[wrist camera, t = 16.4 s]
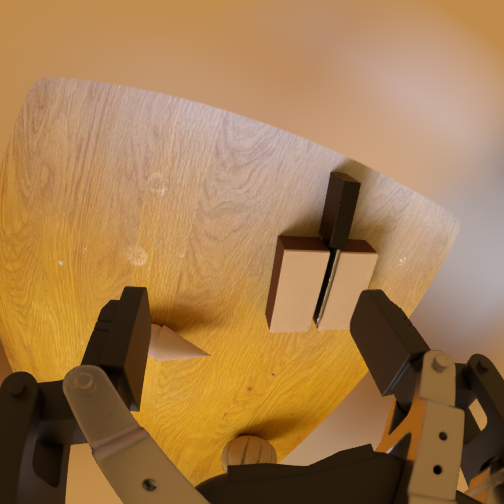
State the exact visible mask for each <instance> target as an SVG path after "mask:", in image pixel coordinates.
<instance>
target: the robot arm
mask: <svg viewBox="0 0 504 504" xmlns="http://www.w3.org/2000/svg"><path fill="white" fill-rule="evenodd" d="M407 318H408V317H407V316H406V315H405V313H404V312H403V311H402V309H401V308H400V307H398V306H397V305H396V304H394V303H393V302H392V301H390V300H389V298H388V297H387V296H386V294H385V293H384V292H383V291H382V290H380V289H376V290H363V291H362V292H361V293H360V296H359V298H358V301H357V304H356V307H355V309H354V312H353V315H352V317H351V320H350V333H351V335H352V337H353V339H354V341H355V343H356V345H357V347H358V349H359V351H360V353H361V355H362V357H363V359H364V361H365V363H366V365H367V367H368V369H369V371H370V372H371V374H372V377H373V379H374V380H375V383H376V385H377V387H378V389H379V391H380V393H381V395H382V397H383V396H388V395H392V394H394V396H395V399H394V400H393V402H392V405H391V409H390V412H389V417H388V420H387V423H386V427H385V430H384V434H383V437H382V440H381V442H380V444H379V446H378V447H377V448H376V450H375V451H373V448H372V445H371V444H367V445H363V446H359V447H355V448H351V449H347V450H343V451H339V452H337V453H335V454H333V455H332V456H329V457H327V458H325V459H323V460H320V461H318V462H316V463H314V464H311V465H309V466H293V465H282V464H273V463H258V464H244V465H227V473H225V474H221V475H217V476H215V477H212V478H210V479H208V480H206V481H204V482H202V483H200V484H199V485H197V486H196V487H194V486H193V485H192V484H191V483H190V482H189V481H188V480H187V479H186V478H185V477H184V476H183V474H182V473H181V472H180V471H179V470H178V469H177V468H176V466H175V465H174V464H173V463H172V462H171V461H170V459H169V458H168V457H167V456H166V455H165V453H164V452H163V451H162V450H161V448H160V447H159V446H158V445H157V443H156V442H155V441H154V440H153V438H152V437H151V436H150V434H149V433H148V432H147V431H146V430H145V429H144V428H143V427H141V426H140V425H139V424H138V423H137V421H136V420H135V418H134V417H133V415H132V414H131V412H130V411H137V412H139V411H140V403H141V395H142V388H143V381H144V375H145V368H146V362H147V356H148V350H149V345H150V339H151V316H150V309H149V301H148V293H147V288H146V287H131V286H126V287H125V288H124V290H123V293H122V295H121V298H120V300H110V301H109V302H108V303H107V304H106V305H105V306H104V307H103V308H102V309H101V312H100V314H99V317H98V319H97V320H98V321H97V322H96V324H95V327H94V331H93V332H92V335H91V337H90V340H89V343H88V345H87V348H86V351H85V354H84V357H83V359H82V362H81V365H80V366H77V367H75V368H73V369H72V370H70V371H69V372H68V373H67V374H66V376H65V378H64V379H63V380H59V381H52V382H43V383H37V381H36V379H35V378H34V377H33V376H32V375H31V374H29V373H27V372H15V373H12V374H11V375H9V376H8V377H7V378H6V379H5V380H4V381H3V383H2V385H1V387H0V504H65V496H66V495H65V494H66V483H67V482H66V481H67V472H68V462H69V453H70V447H71V445H73V444H83V443H89V445H90V447H91V449H92V455H93V457H94V459H95V461H96V463H97V464H98V466H99V467H100V469H101V471H102V472H103V474H104V476H105V477H106V479H107V480H108V482H109V483H110V485H111V486H112V488H113V489H114V491H115V492H116V494H117V495H118V496H119V498H120V499H121V501H122V502H123V503H124V504H504V380H503V378H502V377H501V375H500V374H499V372H498V371H497V369H496V368H495V366H494V365H493V363H492V362H491V361H490V360H489V359H488V358H487V357H485V356H483V355H481V354H474V355H472V356H471V357H470V359H469V360H468V362H467V363H466V364H461V363H454V362H453V360H452V359H451V358H450V357H449V356H448V355H447V354H445V353H444V352H441V351H439V350H431V349H430V348H429V347H428V345H427V344H426V342H425V341H424V339H423V338H422V337H421V335H420V334H419V332H418V331H417V330H416V328H415V327H414V326H413V325H412V323H411V321H410V320H409V319H407ZM476 398H477V399H478V401H479V403H480V405H481V407H482V408H483V410H484V412H485V414H486V416H487V425H486V427H485V428H484V429H483V430H482V431H480V429H479V427H478V425H477V423H476V421H475V419H474V417H473V415H472V413H471V411H470V409H469V406H470V405H471V404H472V403H473V402H474V400H475V399H476ZM460 467H461V470H462V472H463V474H464V477H465V480H466V482H467V485H468V488H469V489H468V490H467V491H465V492H464V493H462V492H460V491H458V490H456V489H457V483H458V477H459V471H460Z"/></svg>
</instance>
